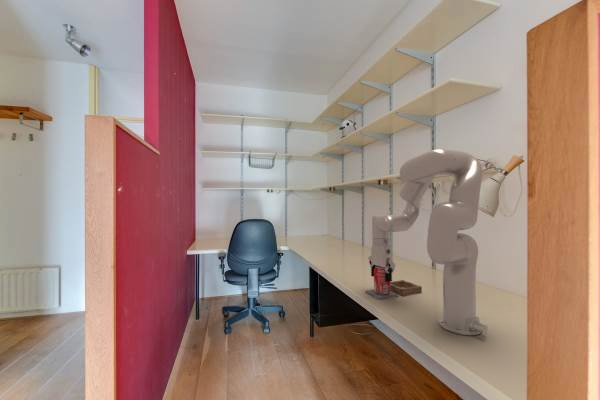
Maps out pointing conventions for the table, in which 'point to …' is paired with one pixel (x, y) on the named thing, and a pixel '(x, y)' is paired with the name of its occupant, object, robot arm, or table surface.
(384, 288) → the soda can
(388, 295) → the mat
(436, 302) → the table surface
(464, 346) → the table surface
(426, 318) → the table surface
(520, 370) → the table surface
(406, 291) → the brown wooden tray
